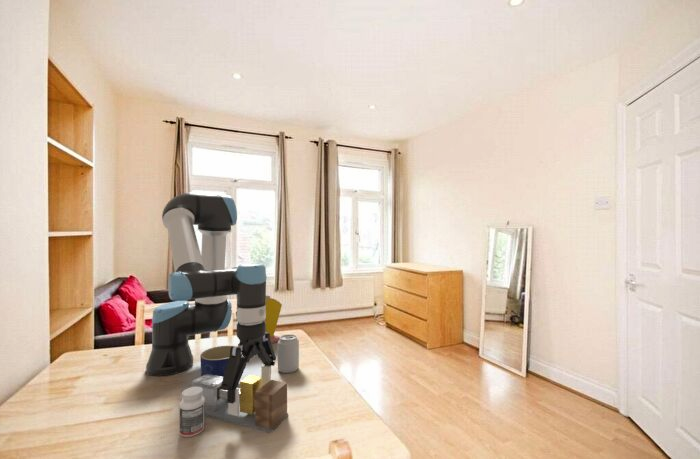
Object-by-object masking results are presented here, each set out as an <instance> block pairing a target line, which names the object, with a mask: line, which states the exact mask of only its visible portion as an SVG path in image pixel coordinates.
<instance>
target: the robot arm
mask: <svg viewBox="0 0 700 459" xmlns="http://www.w3.org/2000/svg"><path fill="white" fill-rule="evenodd" d="M161 218H162V225H163V227H165V228H166V229H167V234H168V239H169V245H170V251H171V257H172V258H171V259H172V262H173V268H174V272H171V273H170V274H169V275H168V279H167V280H168V281H167V288H168V290H167V291H168V292H167V294H168V297H169V299H170V300H171V301H170V302H167V303H163V304H161V305H159V306H157V307H155V308H154V309H153V310H152V311H153V312H152V320H151V324H152V332H151V333H152V334H151V338H152V340H151V342H152V343H151V350H150V353H149V357H148V361H147V363H146V365H145V366H146V367H145V373H146V374H147V375H149V376H156V377H161V376H169V375H174V374H178V373H181V372H184V371H187V370H188V369H189V368H191V367H192V366H193V365H194V355H193V353H192V350H191V346H190V344H189V337H190V336H195V335H201V334H207V333H216V332H219V331H223V330H226V329H227V328H228V327H229V325H230V323H231V320H232V315H233V313H232V312H233V310H232V307H233V306H232V302H231V301H230V300H229V299H228V296H233V295H236V311H237V316H236V322H237V324H236V337H237V339H238V340H239V342H238V344H239V346H238V345H237V347H233V346H234V345H231V346H232V347H231V348H230V357H229V360H228V364H227V367H226V370H225V374H224V377H223V380H222V384H221V387H220V388H221V389H222V390H227V402H228V414H231V415H236V416H238V415H239V388H240V387H238V386H239V385H240V381H241V380H242V377H243V373H244V371H245V368H246V366H247V364H248V363H250V361H251V359H252V358H254V357H255V356H257V357H258V359H259V361H261V363H263V365H261V367H260V368H261V369H260V370H261V371H260V372H261V376H260V377H262V386H264V385H265V384H266V383H268V382H269V381H270V380H272V366H275V364H276V361H277V357H276V354H275V353H276V352H275V349H274V348H273V345H272V344H273V343H272V344H271V341H270V333H266V322H265V321H264V320H265V319H266V296H267V270H266V266H265V264H263V263H242V264H239V265H238V266H237V267H235V266H234V267H231V268H226V267H225V266H226V252H227V251H226V250H227V235H228V234H229V233H230V232H231V231H232V227H234V226H235V225H236V224H237V220H238V211H237V206H236V202H235V201H234V198H233V197H232V196H230V195H226V194H219V193H200V192H184V193H180V194H178V195H176V196H174V197H172V198H171V199H170V200H169V201H168V202H167V203H166V204H165V206H164V207H163V211H162V214H161ZM194 225H195V226H197V230H198V231H199V232H200V233H201V250H200V245H199V242H198V239H197V235H196V231H195V227H194ZM225 268H226V269H225ZM191 300H194V303H189V301H191ZM233 382H234V384H233Z"/></svg>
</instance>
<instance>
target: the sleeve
mask: <svg viewBox="0 0 700 459" xmlns="http://www.w3.org/2000/svg"><path fill="white" fill-rule="evenodd" d="M222 380H223V377H222V376H217V375H211V374H205V375H203V376H201V375H200V376H199V377H197V378H195V379H193V380H192V381H191V387H201V388H202V389H203V394H202V396H203V397H204V398H205V410H206V411H210V412H216V411H217V410H218V409H220V408H221V407H223V406H224V405H225V404H227V403H228V402H227V400H225V399H220V398H217V388H218V387H220V386H221V384H222Z"/></svg>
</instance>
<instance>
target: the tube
mask: <svg viewBox="0 0 700 459" xmlns="http://www.w3.org/2000/svg"><path fill="white" fill-rule="evenodd" d="M220 387H221V386H220ZM220 387H218V388H217V398H220V399H225V400H227V390H222V389H221V388H220ZM261 387H262V377H261V376H256V375H251V374H249V375H248V376H246V377H245V378H243V379H240V381H239V387H238V388H239V403H240V412H243V413H248V414H252V415H253V414H254V413H255V396H256V391H257V390H259V389H260V388H261Z"/></svg>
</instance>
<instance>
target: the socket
mask: <svg viewBox="0 0 700 459" xmlns="http://www.w3.org/2000/svg"><path fill="white" fill-rule="evenodd" d="M287 413H288V382H286V381H280V380H275V379H274V380H273V379H271V380H270V381H269V382H268V383H266V384H265V385H264V386H262V387H261V388H260V389H259V390H257V391H256V396H255V425H258V426H262V427H266V428H270V429H273V428H275V429H276V428H277V427H278V426H279V425H277V424H278V423H279V422H280V421H282V419H283V418H284V417H285V416H286V415H287ZM282 422H283V421H282ZM282 422H280V424H281V423H282ZM276 425H277V427H275V426H276ZM275 429H273V430H272V432H274V431H275Z"/></svg>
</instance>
